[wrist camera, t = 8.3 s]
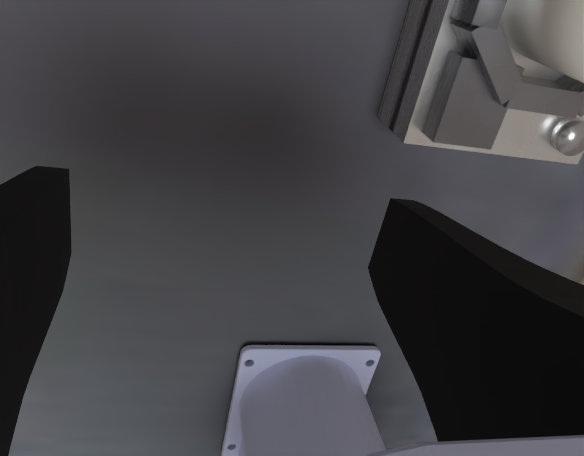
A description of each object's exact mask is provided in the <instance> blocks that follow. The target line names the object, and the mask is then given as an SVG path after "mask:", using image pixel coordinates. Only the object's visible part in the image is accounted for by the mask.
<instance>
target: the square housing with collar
mask: <svg viewBox="0 0 584 456" xmlns="http://www.w3.org/2000/svg"><path fill="white" fill-rule="evenodd" d="M506 3H507V0H410V4H409V7H408V11H407V14H406V18H405V21H404V25H403V28H402V32H401V35H400V39H399V42H398V46H397V50H396V53H395V57H394V60H393V64H392V67H391V71H390V74H389V78H388V81H387V85H386V88H385V92H384V95H383V99H382V102H381V106H380V109H379V113H378V117H379V118H380V119H381V120H382V122H383V123H384V124H385V125H386V126H387V127H388V128H389V129H390V130H391V131H392V132H393V133H394V134H395V135H396V136H397V137H398V138H399V139H400V140H401V141H402V142H403V143H407V144H415V145H424V146H432V147H440V148H448V149H456V150H464V151H472V152H480V153H489V154H497V155H505V156H513V157H521V158H529V159H537V160H545V161H554V162H562V163H570V164H578V162H579V160H580V158H581V156H582V154H583V152H584V83H583V82H580V81H578V80H576V79H574V78H571V77H569V76H567V75H565V74H562V73H560V72H558V71H556V70H554V69H551V68H549V67H547V66H545V65H542V64H540V63H538V62H536V61H533V60H531V59H529V58H527V57H524V56H523V55H521V54H519V53H518V52H517V51H516V50H515V49H513V47H512V46H511V45H510V44H509V42H508V40H507V38H506V36H505V34H504V31H503V27H502V22H501V16H502V13H503V11H504V8H505V5H506Z"/></svg>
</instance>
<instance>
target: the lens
mask: <svg viewBox="0 0 584 456" xmlns="http://www.w3.org/2000/svg"><path fill="white" fill-rule="evenodd" d="M501 22H502V27H503V31H504V34H505V36H506V38H507V40H508V42H509V44H510V45H511V46H512V47H513V49H515V50H516V51H517V52H518V53H519V54H521V55H523V56H524V57H527V58H529V59H531V60H533V61H536V62H538V63H540V64H542V65H545V66H547V67H549V68H551V69H554V70H556V71H558V72H560V73H562V74H565V75H567V76H569V77H571V78H574V79H576V80H578V81H580V82H583V83H584V0H507V3H506V5H505V8H504V11H503V13H502V16H501Z"/></svg>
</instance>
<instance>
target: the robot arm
mask: <svg viewBox="0 0 584 456" xmlns="http://www.w3.org/2000/svg"><path fill="white" fill-rule="evenodd" d="M70 257H71V220H70V184H69V169H64V168H53V167H42V166H36V167H33V168H31V169H29V170H27V171H25V172H23V173H21V174H19V175H17V176H16V177H14V178H12V179H10V180H8V181H7V182H5V183H3V184H1V185H0V456H8V454H9V450H10V446H11V442H12V438H13V434H14V430H15V426H16V423H17V419H18V415H19V411H20V407H21V403H22V399H23V396H24V393H25V390H26V387H27V384H28V381H29V378H30V375H31V373H32V370H33V368H34V365H35V362H36V360H37V357H38V355H39V352H40V350H41V347H42V344H43V342H44V339H45V337H46V334H47V332H48V329H49V326H50V324H51V321H52V319H53V316H54V313H55V311H56V308H57V305H58V303H59V300H60V297H61V295H62V292H63V288H64V284H65V280H66V275H67V271H68V266H69V261H70ZM368 269H369V273H370V277H371V280H372V284H373V287H374V290H375V293H376V296H377V300H378V302H379V304H380V307H381V309H382V311H383V313H384V315H385V317H386V319H387V322H388V324H389V326H390V328H391V330H392V332H393V334H394V336H395V338H396V340H397V342H398V344H399V346H400V348H401V350H402V352H403V354H404V356H405V358H406V360H407V362H408V365H409V367H410V369H411V371H412V373H413V375H414V377H415V379H416V382H417V384H418V386H419V389H420V391H421V393H422V396H423V399H424V402H425V405H426V407H427V410H428V413H429V416H430V419H431V422H432V424H433V427H434V430H435V433H436V436H437V440H438V442H423V443H416V444H411V445H406V446H402V447H397V448H393V449H388V450H386V449H385V446H384V444H383V441H382V438H381V436H380V433H379V431H378V428H377V425H376V423H375V420H374V418H373V415H372V412H371V410H370V407H369V405H368V402H367V399H366V397H365V395H366V393H367V390H368V387H369V385H370V382H371V380H372V377H373V374H374V372H375V369H376V366H377V364H378V361H379V359H380V355H381V353H380V351H379V349H378V348H377V347H376V346H323V345H247V346H245V347H244V348H242V350H241V352H240V357H239V362H238V368H237V373H236V378H235V383H234V388H233V393H232V399H231V404H230V409H229V414H228V419H227V425H226V430H225V435H224V440H223V445H222V451H221V456H584V285H582V284H579V283H577V282H574V281H572V280H569V279H567V278H565V277H562V276H560V275H558V274H556V273H553V272H551V271H549V270H546V269H544V268H542V267H540V266H538V265H536V264H534V263H531V262H529V261H527V260H525V259H523V258H521V257H520V256H518V255H516V254H514V253H512V252H510V251H508V250H506V249H504V248H502V247H500V246H498V245H497V244H495V243H493V242H491V241H489V240H488V239H486V238H484V237H482V236H480V235H479V234H477V233H475V232H473V231H472V230H470V229H468V228H466V227H465V226H463V225H461V224H459V223H458V222H456V221H454V220H452V219H451V218H449V217H447V216H445V215H444V214H442V213H440V212H438V211H436V210H434V209H432V208H430V207H428V206H426V205H424V204H422V203H419V202H416V201H414V200H403V199H392V198H390V202H389V205H388V208H387V211H386V214H385V217H384V220H383V223H382V226H381V229H380V232H379V235H378V238H377V242H376V245H375V248H374V251H373V254H372V257H371V260H370V263H369V266H368ZM247 360H251V361H247ZM369 360H370V361H369Z"/></svg>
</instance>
